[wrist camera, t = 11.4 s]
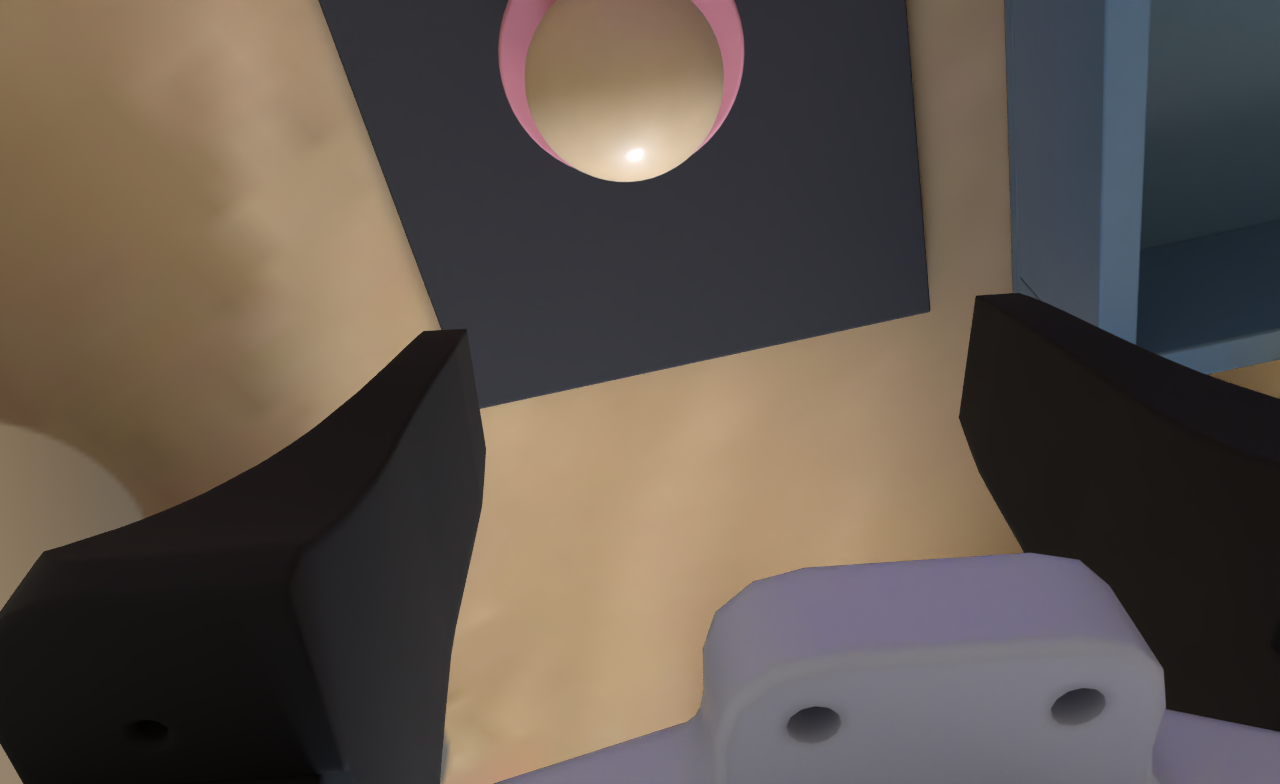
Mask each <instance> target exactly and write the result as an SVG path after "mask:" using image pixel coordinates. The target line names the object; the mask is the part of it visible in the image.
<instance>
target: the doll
mask: <svg viewBox="0 0 1280 784" xmlns="http://www.w3.org/2000/svg"><path fill="white" fill-rule="evenodd" d="M744 54H745V52H744V35H743V29H742V24H741V19H740V16H739V13H738V9H737V6H736V3H735V1H734V0H508V3H507V6H506V9H505V11H504V14H503V18H502V23H501V28H500V33H499V45H498V56H499V68H500V74H501V80H502V84H503V87H504V90H505V94H506V97H507V99H508V101H509V104H510V106H511V108H512V110H513V112H514V114H515V116H516V117H517V119H518V120H519V122H520V124H521V125H522V127H523V128H524V129H525V130H526V132H527V133H528V134H529V135H530V137H531V138H532V139H533V140H534V141H535V142H536V143H537V144H538V145H539V146H540V147H541V148H542V149H544V150H545V151H546V152H548V153H549V154H550V155H552V156H553V157H554V158H556V159H558V160H560V161H561V162H563V163H565V164H567V165H568V166H571V167H573V168H575V169H577V170H579V171H581V172H583V173H585V174H588V175H590V176H593V177H596V178H600V179H603V180H608V181H615V182H634V181H642V180H646V179H650V178H654V177H656V176H659V175H662V174H664V173H666V172H668V171H670V170H672V169H674V168H676V167H677V166H678V165H680V164H681V163H683V162H684V161H685V160H687V159H688V158H689V157H690V156H691V155H692V154H694V153H695V152H696V151H698V150H699V149H700V148H701V147H702V146H703V145H704V144H705V143H707V142H708V141H709V140H710V138H711V137H712V136H713V135H714V134H715V133H716V131H717V130H718V129H719V128H720V126H721V125H722V123H723V122H724V120H725V118H726V117H727V115H728V113H729V111H730V109H731V107H732V105H733V103H734V101H735V98H736V95H737V93H738V90H739V87H740V83H741V78H742V73H743V66H744Z"/></svg>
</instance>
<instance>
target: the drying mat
mask: <svg viewBox="0 0 1280 784" xmlns="http://www.w3.org/2000/svg"><path fill="white" fill-rule="evenodd" d="M734 1H735V3H736V6H737V9H738V13H739V16H740V19H741V24H742V29H743V35H744V52H745V54H744V66H743V73H742V78H741V83H740V87H739V90H738V93H737V95H736V98H735V101H734V103H733V105H732V107H731V109H730V111H729V113H728V115H727V117H726V118H725V120H724V122H723V123H722V125H721V126H720V128H719V129H718V130H717V131H716V133H715V134H714V135H713V136H712V137H711V138H710V140H709V141H708V142H707V143H705V144H704V145H703V146H702V147H701V148H700V149H699V150H698V151H696V152H695V153H694V154H692V155H691V156H690V157H689V158H688V159H687V160H685V161H684V162H683V163H681V164H680V165H678V166H677V167H676V168H674V169H672V170H670V171H668V172H666V173H664V174H662V175H659V176H656V177H654V178H650V179H646V180H642V181H634V182H615V181H608V180H603V179H600V178H596V177H593V176H590V175H588V174H585V173H583V172H581V171H579V170H577V169H575V168H573V167H571V166H568V165H567V164H565V163H563V162H561V161H560V160H558V159H556V158H554V157H553V156H552V155H550V154H549V153H548V152H546V151H545V150H544V149H542V148H541V147H540V146H539V145H538V144H537V143H536V142H535V141H534V140H533V139H532V138H531V137H530V135H529V134H528V133H527V132H526V130H525V129H524V128H523V127H522V125H521V124H520V122H519V120H518V119H517V117H516V116H515V114H514V112H513V110H512V108H511V106H510V104H509V101H508V99H507V97H506V94H505V90H504V87H503V84H502V80H501V74H500V68H499V56H498V45H499V33H500V28H501V23H502V18H503V14H504V11H505V9H506V6H507V3H508V0H319V3H320V6H321V8H322V11H323V14H324V16H325V19H326V22H327V24H328V27H329V30H330V32H331V35H332V38H333V40H334V43H335V46H336V48H337V51H338V54H339V57H340V59H341V62H342V65H343V67H344V70H345V73H346V75H347V78H348V81H349V83H350V86H351V89H352V91H353V94H354V97H355V99H356V102H357V105H358V107H359V110H360V113H361V115H362V118H363V121H364V123H365V126H366V129H367V131H368V134H369V137H370V140H371V142H372V145H373V148H374V150H375V153H376V156H377V158H378V161H379V164H380V166H381V169H382V172H383V174H384V177H385V180H386V182H387V185H388V188H389V190H390V193H391V196H392V198H393V201H394V204H395V206H396V209H397V212H398V215H399V217H400V220H401V223H402V225H403V228H404V231H405V233H406V236H407V239H408V241H409V244H410V247H411V249H412V252H413V255H414V257H415V260H416V263H417V265H418V268H419V271H420V273H421V276H422V279H423V281H424V284H425V287H426V289H427V292H428V295H429V298H430V300H431V303H432V306H433V308H434V311H435V314H436V316H437V319H438V322H439V324H440V327H441V330H452V329H467V333H468V340H469V346H470V352H471V358H472V365H473V371H474V377H475V384H476V390H477V396H478V402H479V409H481V408H486V407H490V406H495V405H500V404H504V403H509V402H514V401H518V400H523V399H528V398H532V397H537V396H542V395H546V394H551V393H555V392H560V391H565V390H569V389H574V388H579V387H583V386H588V385H593V384H597V383H602V382H606V381H611V380H616V379H620V378H625V377H630V376H634V375H639V374H644V373H648V372H653V371H658V370H662V369H667V368H671V367H676V366H681V365H685V364H690V363H695V362H699V361H704V360H709V359H713V358H718V357H722V356H727V355H732V354H736V353H741V352H746V351H750V350H755V349H760V348H764V347H769V346H774V345H778V344H783V343H787V342H792V341H797V340H801V339H806V338H811V337H815V336H820V335H825V334H829V333H834V332H838V331H843V330H848V329H852V328H857V327H862V326H866V325H871V324H876V323H880V322H885V321H889V320H894V319H899V318H903V317H908V316H913V315H917V314H922V313H927V312H930V299H929V287H928V274H927V261H926V249H925V236H924V223H923V211H922V198H921V185H920V173H919V160H918V148H917V135H916V122H915V110H914V97H913V84H912V72H911V59H910V46H909V34H908V21H907V8H906V0H734Z"/></svg>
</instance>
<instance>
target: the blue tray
mask: <svg viewBox="0 0 1280 784" xmlns="http://www.w3.org/2000/svg"><path fill="white" fill-rule="evenodd" d="M1004 6H1005V40H1006V74H1007V107H1008V141H1009V175H1010V209H1011V242H1012V276H1013V293H1021V294H1024V295H1027V296H1030V297H1033V298H1036V299H1038V300H1040V301H1043V302H1045V303H1048V304H1050V305H1052V306H1054V307H1056V308H1059V309H1061V310H1063V311H1065V312H1067V313H1069V314H1071V315H1074V316H1076V317H1078V318H1080V319H1082V320H1084V321H1086V322H1088V323H1090V324H1092V325H1094V326H1097V327H1099V328H1101V329H1103V330H1105V331H1107V332H1109V333H1111V334H1113V335H1115V336H1118V337H1120V338H1122V339H1124V340H1126V341H1128V342H1130V343H1133V344H1135V345H1137V346H1139V347H1141V348H1144V349H1146V350H1148V351H1150V352H1153V353H1155V354H1157V355H1159V356H1162V357H1164V358H1167V359H1169V360H1171V361H1174V362H1176V363H1179V364H1181V365H1184V366H1186V367H1189V368H1191V369H1193V370H1196V371H1198V372H1201V373H1203V374H1211V373H1216V372H1221V371H1226V370H1231V369H1235V368H1240V367H1245V366H1250V365H1255V364H1260V363H1265V362H1269V361H1274V360H1279V359H1280V0H1004Z"/></svg>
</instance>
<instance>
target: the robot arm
mask: <svg viewBox="0 0 1280 784" xmlns="http://www.w3.org/2000/svg"><path fill="white" fill-rule="evenodd" d="M959 419H960V422H961V425H962V428H963V431H964V434H965V436H966V439H967V442H968V445H969V448H970V450H971V453H972V456H973V458H974V461H975V463H976V466H977V468H978V471H979V473H980V475H981V477H982V479H983V481H984V482H985V484H986V486H987V488H988V490H989V492H990V493H991V495H992V497H993V499H994V500H995V502H996V504H997V506H998V508H999V509H1000V511H1001V513H1002V515H1003V516H1004V518H1005V520H1006V522H1007V523H1008V525H1009V527H1010V529H1011V530H1012V532H1013V534H1014V536H1015V537H1016V539H1017V541H1018V542H1019V544H1020V546H1021V548H1022V549H1023V551H1024V553H1019V554H1004V555H989V556H974V557H959V558H944V559H929V560H914V561H899V562H884V563H870V564H855V565H840V566H825V567H810V568H802V569H798V570H795V571H791V572H787V573H784V574H780V575H776V576H772V577H769V578H765V579H761V580H758V581H754V582H752V583H751V584H749V585H748V586H747V587H746V588H744V589H743V590H742V591H741V592H739V593H738V594H737V595H736V596H735V597H733V598H732V599H731V600H730V601H728V602H727V603H726V604H725V605H724V606H722V607H721V608H720V609H719V610H717V611H716V612H715V615H714V618H713V621H712V624H711V626H710V629H709V632H708V635H707V638H706V641H705V644H704V647H703V681H704V690H703V696H702V702H701V707H700V708H699V710H698V712H697V714H696V715H695V716H694V717H693V718H691V719H690V720H689V721H687V722H684V723H681V724H678V725H675V726H672V727H669V728H666V729H663V730H659V731H656V732H653V733H650V734H647V735H644V736H641V737H638V738H635V739H631V740H628V741H625V742H622V743H619V744H616V745H613V746H610V747H606V748H603V749H600V750H597V751H594V752H591V753H588V754H585V755H581V756H578V757H575V758H572V759H569V760H566V761H563V762H560V763H556V764H553V765H550V766H547V767H544V768H541V769H538V770H535V771H532V772H528V773H525V774H522V775H519V776H516V777H513V778H510V779H507V780H503V781H500V782H497V783H494V784H1280V399H1278V398H1275V397H1271V396H1268V395H1265V394H1262V393H1259V392H1256V391H1253V390H1250V389H1247V388H1244V387H1241V386H1237V385H1234V384H1231V383H1228V382H1225V381H1222V380H1220V379H1217V378H1214V377H1212V376H1209V375H1206V374H1203V373H1201V372H1198V371H1196V370H1193V369H1191V368H1189V367H1186V366H1184V365H1181V364H1179V363H1176V362H1174V361H1171V360H1169V359H1167V358H1164V357H1162V356H1159V355H1157V354H1155V353H1153V352H1150V351H1148V350H1146V349H1144V348H1141V347H1139V346H1137V345H1135V344H1133V343H1130V342H1128V341H1126V340H1124V339H1122V338H1120V337H1118V336H1115V335H1113V334H1111V333H1109V332H1107V331H1105V330H1103V329H1101V328H1099V327H1097V326H1094V325H1092V324H1090V323H1088V322H1086V321H1084V320H1082V319H1080V318H1078V317H1076V316H1074V315H1071V314H1069V313H1067V312H1065V311H1063V310H1061V309H1059V308H1056V307H1054V306H1052V305H1050V304H1048V303H1045V302H1043V301H1040V300H1038V299H1036V298H1033V297H1030V296H1027V295H1024V294H1021V293H1010V294H995V295H979V296H976V298H975V305H974V313H973V320H972V327H971V334H970V342H969V349H968V356H967V363H966V370H965V378H964V385H963V392H962V399H961V407H960V414H959ZM485 455H486V446H485V440H484V434H483V428H482V421H481V415H480V409H479V402H478V396H477V390H476V384H475V377H474V371H473V365H472V358H471V352H470V346H469V340H468V333H467V329H452V330H436V331H423V332H422V333H421V334H420V335H418V336H417V337H416V338H415V339H414V340H413V341H412V342H411V343H410V344H409V345H408V346H406V347H405V348H404V349H403V350H402V351H401V352H400V353H399V354H398V355H397V356H396V357H395V358H394V359H393V360H392V361H391V362H390V363H389V364H388V365H387V366H386V367H385V368H383V369H382V370H381V371H380V372H379V373H378V374H377V375H376V376H375V377H374V378H373V379H372V380H370V381H369V382H368V383H367V384H366V385H365V386H364V387H363V388H362V389H361V390H360V391H358V392H357V393H356V394H355V395H354V396H353V397H351V398H350V399H349V400H348V401H346V402H345V403H344V404H343V405H342V406H340V407H339V408H338V409H337V410H335V411H334V412H333V413H332V414H330V415H329V416H328V417H327V418H326V419H324V420H323V421H322V422H321V423H319V424H318V425H317V426H316V427H314V428H313V429H312V430H310V431H309V432H308V433H306V434H305V435H303V436H302V437H300V438H299V439H298V440H296V441H295V442H293V443H292V444H290V445H289V446H287V447H286V448H284V449H282V450H281V451H279V452H278V453H276V454H275V455H273V456H272V457H270V458H268V459H267V460H265V461H263V462H262V463H260V464H258V465H257V466H255V467H253V468H251V469H249V470H247V471H245V472H244V473H242V474H240V475H238V476H236V477H234V478H232V479H230V480H228V481H227V482H225V483H223V484H221V485H219V486H217V487H215V488H213V489H211V490H209V491H208V492H206V493H203V494H201V495H199V496H197V497H195V498H193V499H190V500H188V501H186V502H184V503H181V504H179V505H177V506H175V507H172V508H170V509H167V510H165V511H162V512H160V513H157V514H155V515H152V516H150V517H147V518H145V519H142V520H140V521H137V522H134V523H132V524H129V525H126V526H124V527H121V528H118V529H115V530H112V531H108V532H105V533H102V534H99V535H96V536H93V537H90V538H87V539H84V540H80V541H77V542H74V543H71V544H68V545H65V546H62V547H58V548H55V549H51V550H48V551H44V552H43V553H42V554H41V556H40V557H39V558H38V560H37V561H36V562H35V564H34V565H33V566H32V568H31V569H30V571H29V572H28V573H27V575H26V576H25V578H24V579H23V580H22V582H21V583H20V585H19V586H18V587H17V589H16V590H15V592H14V593H13V594H12V596H11V597H10V599H9V600H8V601H7V603H6V604H5V606H4V607H3V609H2V610H1V611H0V744H1V745H2V747H3V749H4V751H5V752H6V754H7V756H8V758H9V759H10V761H11V763H12V765H13V766H14V768H15V770H16V772H17V773H18V775H19V777H20V779H21V780H22V782H23V784H440V774H441V762H442V749H443V737H444V725H445V713H446V703H447V692H448V682H449V672H450V661H451V653H452V647H453V641H454V635H455V629H456V624H457V619H458V615H459V610H460V605H461V601H462V596H463V592H464V587H465V583H466V578H467V574H468V569H469V565H470V560H471V555H472V551H473V546H474V542H475V537H476V532H477V527H478V523H479V518H480V513H481V508H482V499H483V487H484V472H485Z"/></svg>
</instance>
